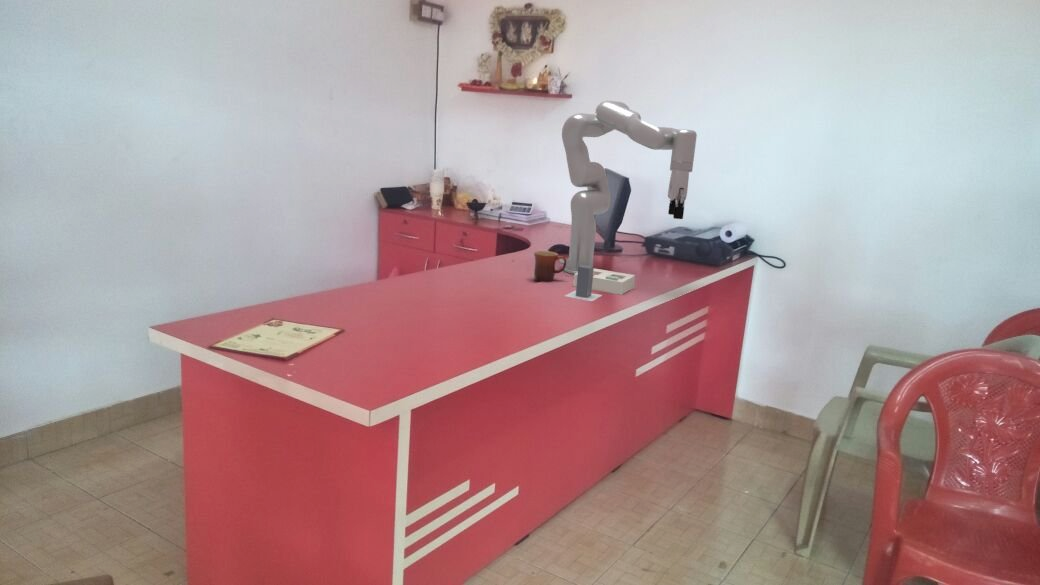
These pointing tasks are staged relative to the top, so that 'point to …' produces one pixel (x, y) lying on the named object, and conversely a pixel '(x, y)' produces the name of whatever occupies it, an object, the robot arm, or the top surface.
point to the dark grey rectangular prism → (584, 281)
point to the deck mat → (590, 298)
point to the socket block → (610, 281)
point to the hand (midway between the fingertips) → (675, 216)
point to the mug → (546, 265)
